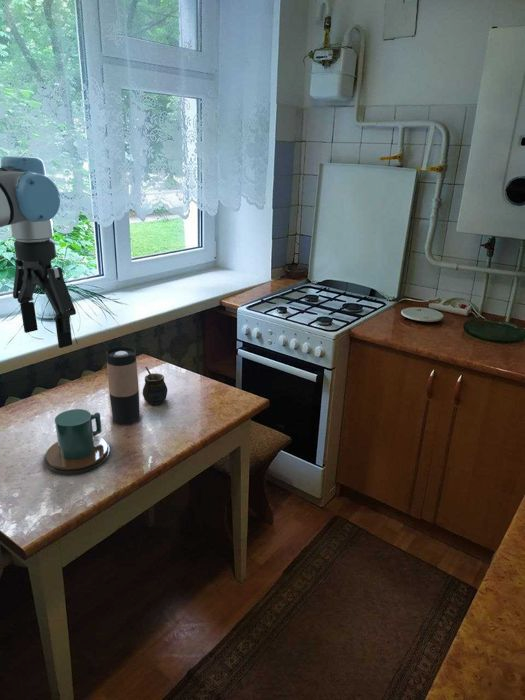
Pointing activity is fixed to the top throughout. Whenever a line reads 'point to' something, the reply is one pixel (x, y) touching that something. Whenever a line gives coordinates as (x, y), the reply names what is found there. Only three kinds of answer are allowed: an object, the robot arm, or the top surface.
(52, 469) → the base
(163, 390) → the mate gourd
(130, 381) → the travel mug
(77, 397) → the top surface
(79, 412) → the tea cup
